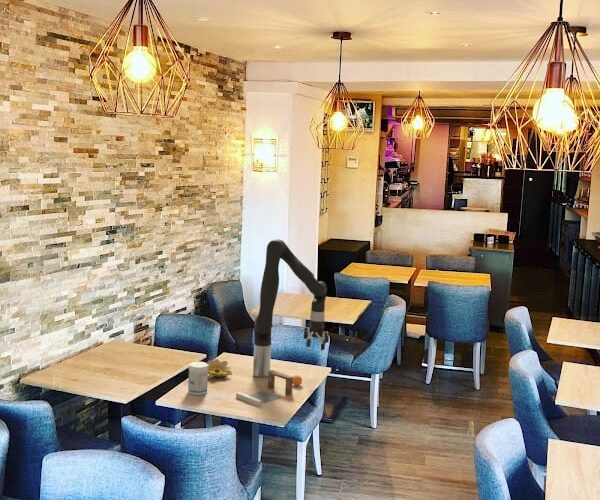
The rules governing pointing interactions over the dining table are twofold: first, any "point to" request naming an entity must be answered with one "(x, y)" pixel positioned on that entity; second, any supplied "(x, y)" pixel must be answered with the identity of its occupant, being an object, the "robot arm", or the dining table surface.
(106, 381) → the dining table surface
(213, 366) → the decorative flower
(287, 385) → the bridge
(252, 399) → the stopper strip
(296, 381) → the ball
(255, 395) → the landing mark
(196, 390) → the supplement tub
